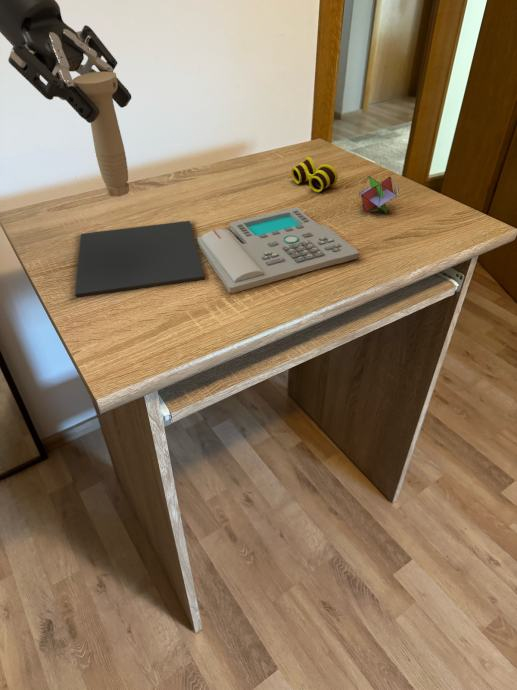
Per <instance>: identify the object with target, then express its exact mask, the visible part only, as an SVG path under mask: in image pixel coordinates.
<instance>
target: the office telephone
mask: <svg viewBox="0 0 517 690" xmlns="http://www.w3.org/2000/svg"><path fill="white" fill-rule="evenodd" d="M197 245H198V247H199V249H200V251H201V252H202V253H203V255H204V256H205V258H206V259H207V261H208V264H209V265H210V266H211V268H212V269H213V271H214V272H215V274H216V275H217V276H218V278H219V279H220V281H221V282H222V283H223V285H224V287H225V288H226V290H227V291H228V293H229V294H234V293H238V292H241V291H242V292H243V291H246V290H249V289H253V288H256V287H260V286H264V285H267V284H270V283H275V282H277V281H281V280H284V279H287V278H291V277H296V276H298V275H302V274H306V273H309V272H312V271H316V270H319V269H323V268H326V267H330V266H335V265H338V264H339V265H340V264H343V263H347V262H350V261H353V260H354V261H355V260H358V259H359V255H360V252H359V250H358V249H357V248H355V247H354V246H353V245H352V244H350V243H349V242H347V241H346V240H345V239H344V238H342V237H341V236H340V235H338V234H337V232H334V230H332V229H331V228H329V227H328V226H326V225H324V224H319V223H317V222H316V221H315V220H314V219H312V218H311V217H310V216H308V215H307V214H306V213H304V212H303V211H302V210H301V208H300V207H292V208H287V209H283V210H279V211H274V212H270V213H269V212H268V213H265V214H261V215H257V216H253V217H248V218H244V219H240V220H235V221H233V222H230V223H229V229H224V228H223V229H222V228H221V229H220V228H219V229H212V230H210V231H208V232H205V233H204V234H203V235H199V236H197Z"/></svg>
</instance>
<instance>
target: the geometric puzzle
mask: <svg viewBox="0 0 517 690" xmlns="http://www.w3.org/2000/svg"><path fill="white" fill-rule="evenodd" d="M367 181H369V186H368V187H367V188H365V187H362V188H363V189H362V191H360V192H358V195H359V198H360V201H361V205H362V208H363V211H364V213H365V214H367V213H369V214H370V213H372V212H371V211H373V210H375V209H380V210H381V211H383V213H385V214H388V211H389V209H387V207H386V204H387V203H388V202H390V203H389V205H388V207H391V206H390V205H391V204H392V200H393V199H394V200H395V199H397V197H399V193H400V189H399V185H398V183H396V182H395V180H394V179H393V178H392V176H387V177H386V178H384V179H381V180H379V181H378V180H376V179H374V178H373V177H372V176H370V175H367V178H366V179H365V182H364V185H366V184H367ZM364 188H365V189H364ZM374 207H375V208H374Z"/></svg>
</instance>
